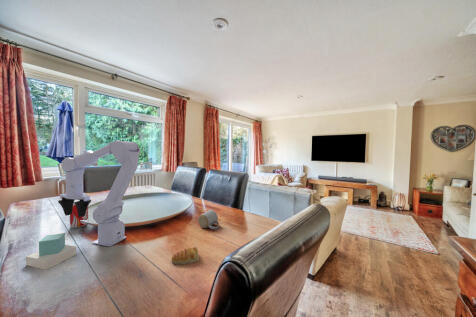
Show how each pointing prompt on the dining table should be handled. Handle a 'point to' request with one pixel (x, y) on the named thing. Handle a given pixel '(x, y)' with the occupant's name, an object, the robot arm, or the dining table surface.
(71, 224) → the soda can
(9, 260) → the dining table surface
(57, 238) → the teal block
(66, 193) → the robot arm
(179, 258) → the pastry
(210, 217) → the ceramic mug
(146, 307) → the dining table surface
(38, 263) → the stone plinth
